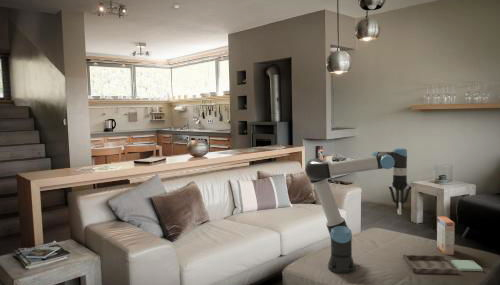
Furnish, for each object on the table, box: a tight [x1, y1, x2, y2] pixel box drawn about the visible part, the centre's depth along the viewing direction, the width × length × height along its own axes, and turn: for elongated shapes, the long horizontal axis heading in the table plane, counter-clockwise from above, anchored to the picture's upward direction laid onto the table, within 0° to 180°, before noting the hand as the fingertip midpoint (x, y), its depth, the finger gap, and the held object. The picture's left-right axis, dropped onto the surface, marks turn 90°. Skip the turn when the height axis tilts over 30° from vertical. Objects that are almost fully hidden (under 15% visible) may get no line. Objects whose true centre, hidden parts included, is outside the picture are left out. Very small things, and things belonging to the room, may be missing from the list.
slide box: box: [402, 254, 459, 275], centre depth 224 cm, size 23×20×3 cm
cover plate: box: [450, 259, 484, 273], centre depth 221 cm, size 12×12×2 cm
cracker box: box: [436, 215, 456, 256], centre depth 245 cm, size 14×6×21 cm, turn 172°
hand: (399, 213), depth 230 cm, fingers closed
